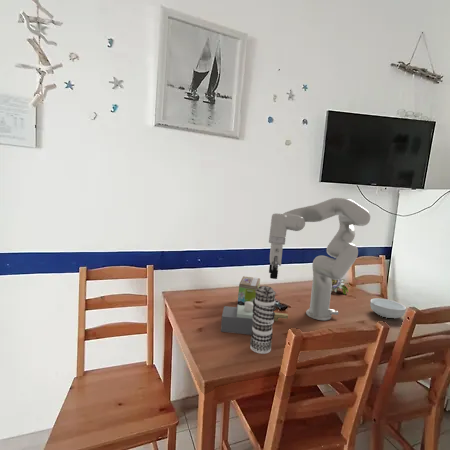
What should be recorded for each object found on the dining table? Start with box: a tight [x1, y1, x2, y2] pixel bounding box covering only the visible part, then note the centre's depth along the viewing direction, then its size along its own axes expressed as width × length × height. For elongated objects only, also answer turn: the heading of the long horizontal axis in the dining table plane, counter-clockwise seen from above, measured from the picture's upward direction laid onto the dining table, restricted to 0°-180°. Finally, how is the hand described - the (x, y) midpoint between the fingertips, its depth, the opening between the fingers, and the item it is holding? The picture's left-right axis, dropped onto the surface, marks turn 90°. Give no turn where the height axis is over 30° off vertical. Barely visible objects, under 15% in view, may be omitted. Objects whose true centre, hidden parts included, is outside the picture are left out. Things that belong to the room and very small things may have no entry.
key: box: [273, 311, 289, 322], centre depth 147 cm, size 11×2×3 cm, turn 85°
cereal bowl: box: [369, 297, 407, 319], centre depth 162 cm, size 17×17×7 cm
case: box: [220, 305, 253, 336], centre depth 136 cm, size 17×12×7 cm
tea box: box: [236, 275, 261, 307], centre depth 161 cm, size 15×10×15 cm
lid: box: [237, 301, 255, 319], centre depth 136 cm, size 10×10×5 cm
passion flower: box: [331, 278, 350, 296], centre depth 197 cm, size 13×12×14 cm
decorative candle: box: [249, 285, 277, 355], centre depth 119 cm, size 9×9×25 cm
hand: (272, 275), depth 142 cm, fingers open, 9 cm apart
